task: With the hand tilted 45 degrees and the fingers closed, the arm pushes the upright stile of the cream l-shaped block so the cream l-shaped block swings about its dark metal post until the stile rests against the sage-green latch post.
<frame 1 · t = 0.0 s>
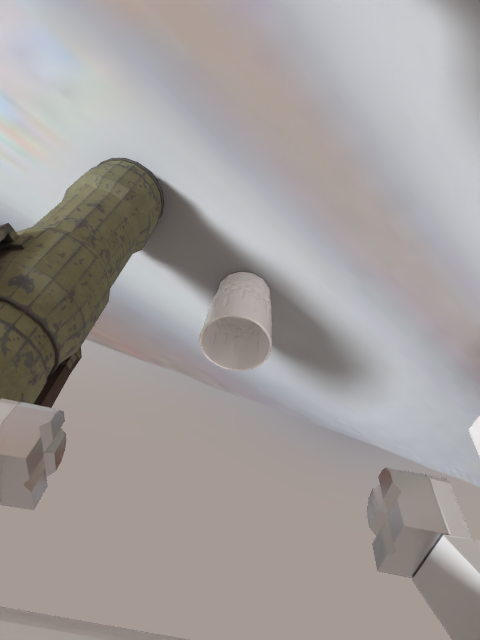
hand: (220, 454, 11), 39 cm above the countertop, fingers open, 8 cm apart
white cup: (244, 293, 55), on the countertop
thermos: (127, 197, 49), on the countertop
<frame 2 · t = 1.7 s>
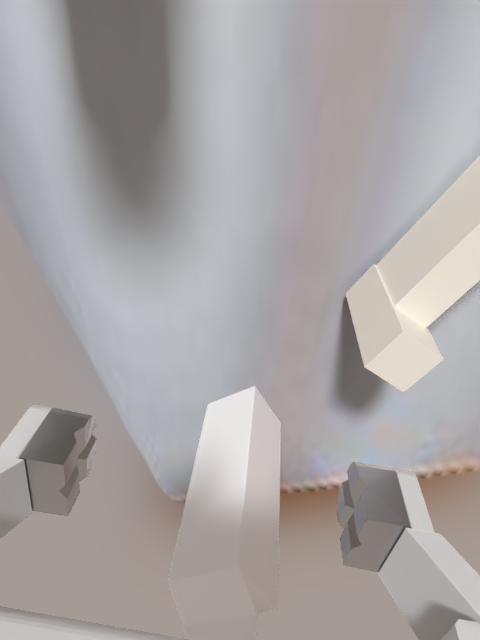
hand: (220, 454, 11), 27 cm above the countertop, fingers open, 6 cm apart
milk: (244, 411, 47), on the countertop
cream l-shaped block: (451, 260, 29), point 6 cm above the countertop, hinge at 0.0°
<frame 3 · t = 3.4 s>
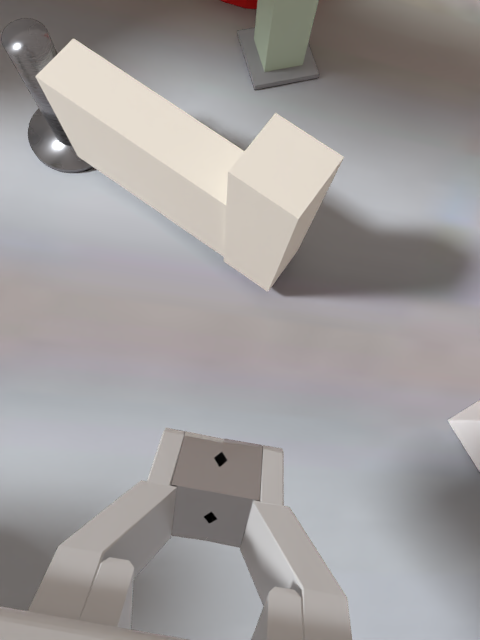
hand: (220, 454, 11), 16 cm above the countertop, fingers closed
hinge post: (74, 134, 30), on the countertop
cream l-shaped block: (178, 158, 23), point 6 cm above the countertop, hinge at 0.0°
latch post: (277, 56, 33), on the countertop
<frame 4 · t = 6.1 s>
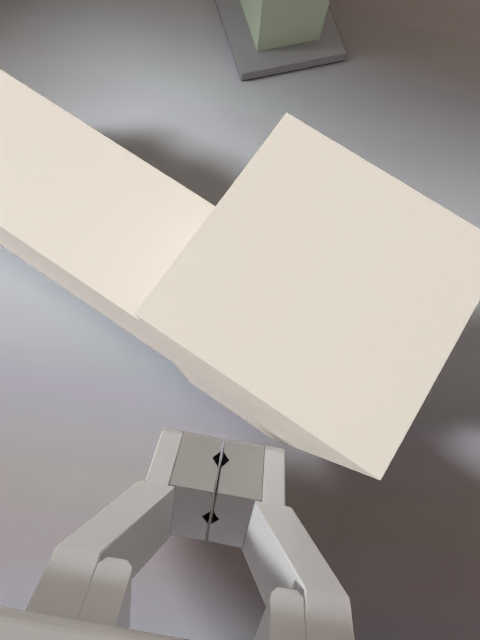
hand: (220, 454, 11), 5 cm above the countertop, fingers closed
cream l-shaped block: (77, 215, 11), point 6 cm above the countertop, hinge at 0.8°, touching gripper
latch post: (278, 26, 20), on the countertop
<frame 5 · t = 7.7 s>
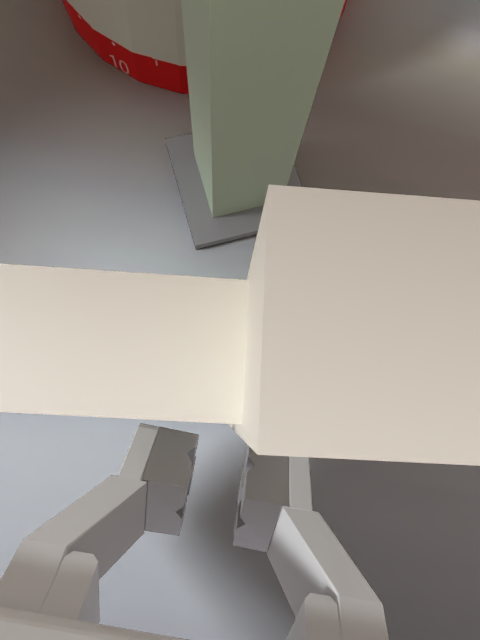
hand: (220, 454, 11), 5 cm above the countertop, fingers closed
cream l-shaped block: (59, 349, 10), point 6 cm above the countertop, hinge at 31.0°, touching gripper
latch post: (237, 182, 18), on the countertop
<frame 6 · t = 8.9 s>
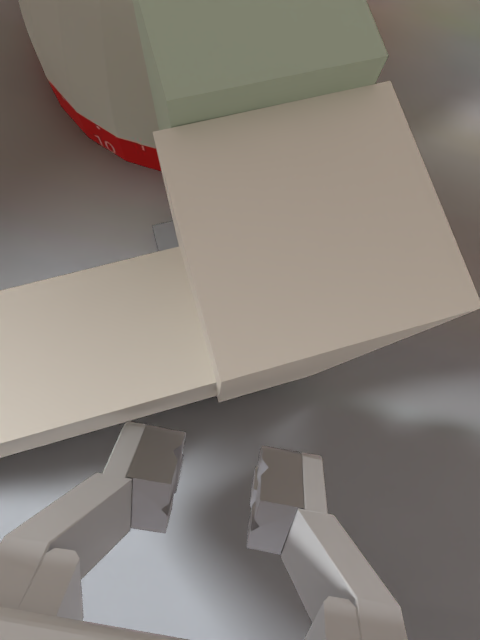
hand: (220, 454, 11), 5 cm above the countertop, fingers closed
kitchen timer: (197, 44, 20), on the countertop
cream l-shaped block: (21, 376, 10), point 6 cm above the countertop, hinge at 50.4°, touching gripper, latch post
latch post: (227, 270, 18), on the countertop
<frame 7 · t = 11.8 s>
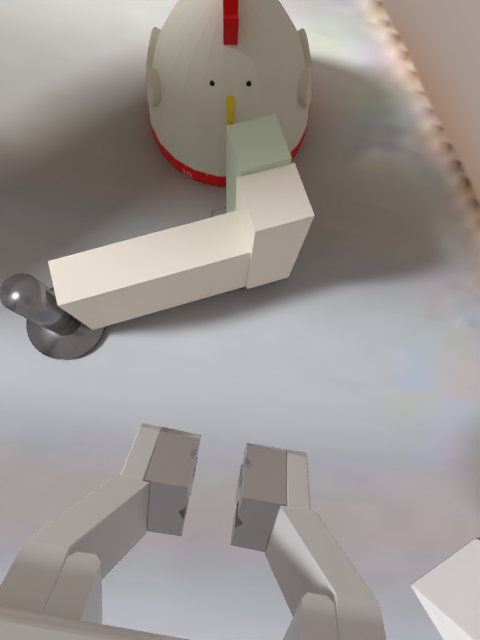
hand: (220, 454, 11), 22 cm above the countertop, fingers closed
kitchen timer: (229, 119, 39), on the countertop
milk: (466, 599, 30), on the countertop
hinge post: (67, 322, 34), on the countertop
cream l-shaped block: (180, 259, 29), point 6 cm above the countertop, hinge at 50.4°, touching latch post
latch post: (248, 232, 36), on the countertop
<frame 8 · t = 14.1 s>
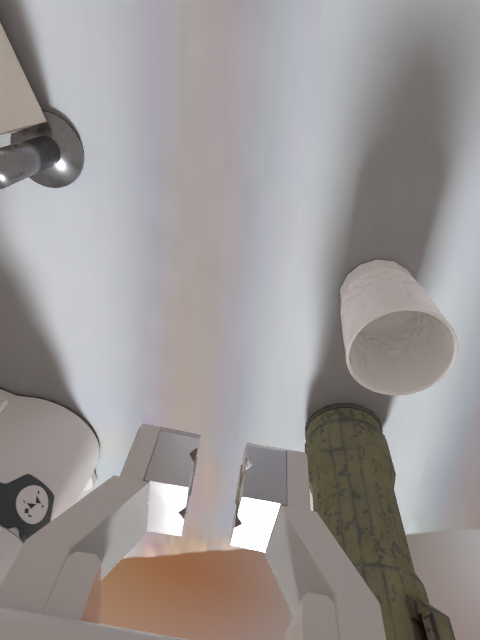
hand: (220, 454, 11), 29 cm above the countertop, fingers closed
hinge post: (48, 150, 36), on the countertop
white cup: (375, 291, 40), on the countertop
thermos: (343, 430, 50), on the countertop
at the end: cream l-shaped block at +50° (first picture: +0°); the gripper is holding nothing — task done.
